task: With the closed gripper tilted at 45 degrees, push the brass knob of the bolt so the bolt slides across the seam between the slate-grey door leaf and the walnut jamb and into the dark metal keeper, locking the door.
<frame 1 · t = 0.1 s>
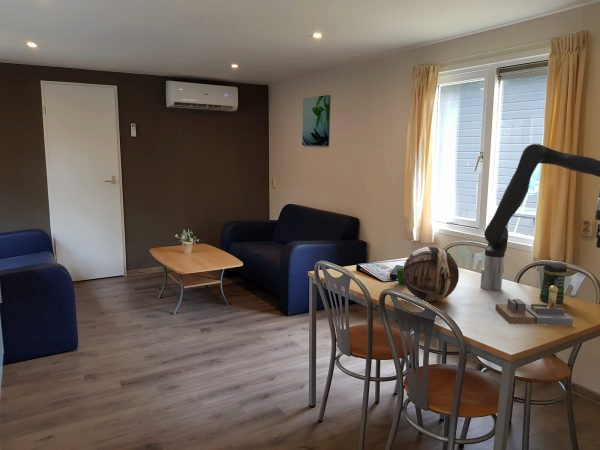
sphere: (428, 300, 218), on the table
bell pepper: (404, 284, 242), on the table
coffee jar: (551, 301, 219), on the table
door edge model: (530, 317, 197), on the table
bolt: (546, 298, 196), point 9 cm above the table, slide at 0.0 cm
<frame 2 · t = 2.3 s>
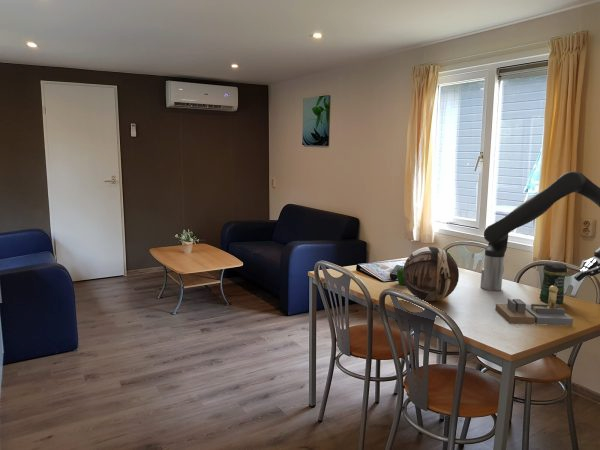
hand: (576, 279, 194), 17 cm above the table, tool tilted 45°, fingers closed
nothing on the table moved.
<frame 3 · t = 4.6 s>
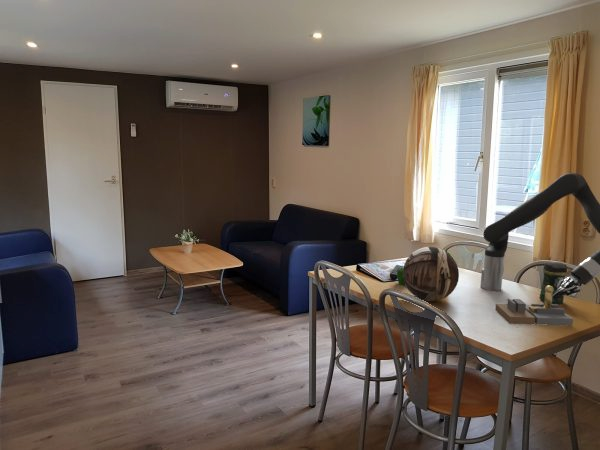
hand: (553, 298, 196), 9 cm above the table, tool tilted 45°, fingers closed
bolt: (542, 298, 196), point 9 cm above the table, slide at 1.6 cm, touching gripper
everything else where it was.
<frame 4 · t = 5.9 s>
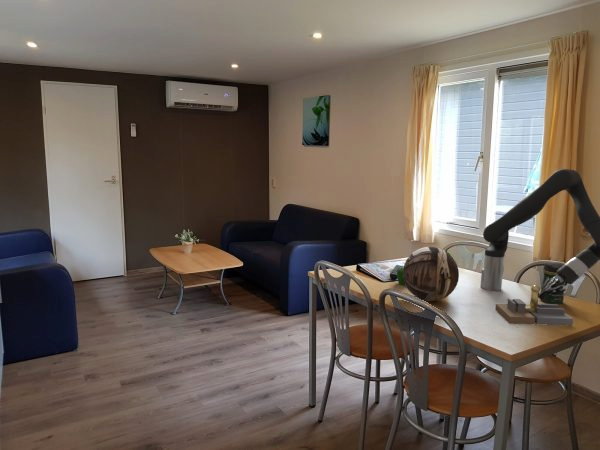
hand: (539, 297, 196), 9 cm above the table, tool tilted 45°, fingers closed
bolt: (528, 297, 196), point 9 cm above the table, slide at 7.3 cm, touching gripper
everything else where it was.
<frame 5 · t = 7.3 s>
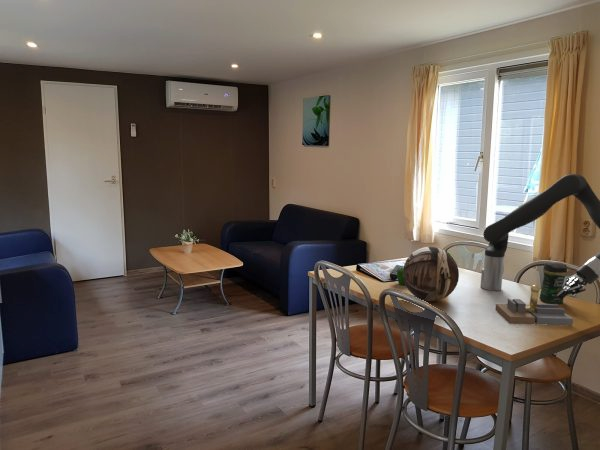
hand: (558, 297, 195), 9 cm above the table, tool tilted 45°, fingers closed
bolt: (528, 297, 196), point 9 cm above the table, slide at 7.5 cm
everything else where it was.
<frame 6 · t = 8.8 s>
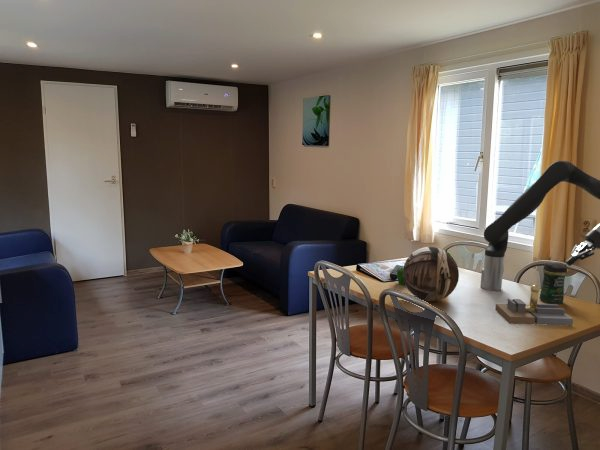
hand: (567, 264, 193), 24 cm above the table, tool tilted 45°, fingers closed
nothing on the table moved.
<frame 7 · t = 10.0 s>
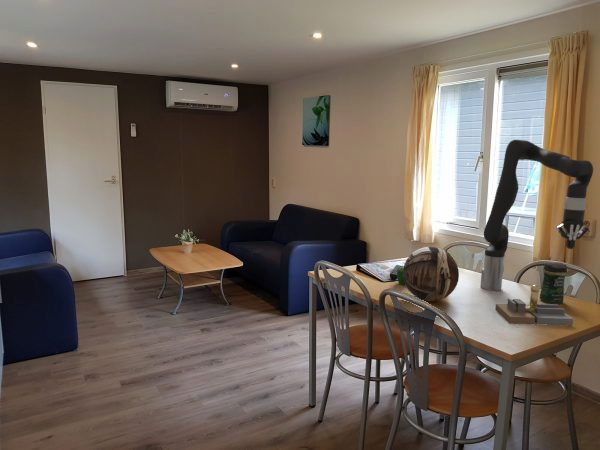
hand: (569, 248, 199), 29 cm above the table, tool pointing down, fingers closed
nothing on the table moved.
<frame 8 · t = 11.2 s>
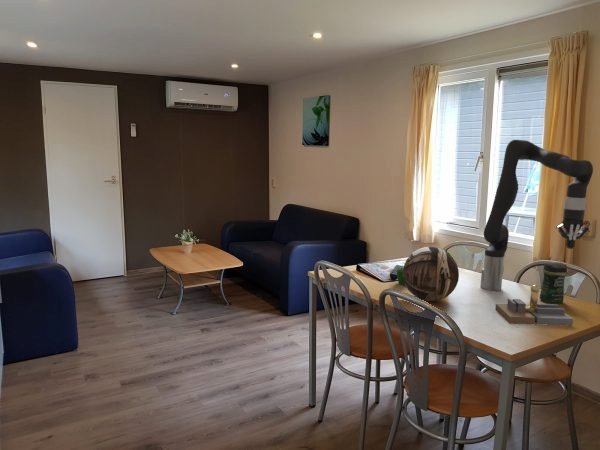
hand: (569, 248, 199), 29 cm above the table, tool pointing down, fingers closed
nothing on the table moved.
at the end: bolt slide at 7.5 cm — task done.
